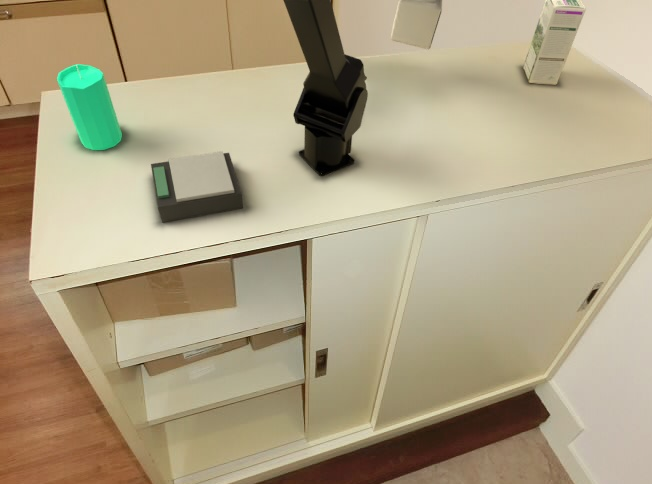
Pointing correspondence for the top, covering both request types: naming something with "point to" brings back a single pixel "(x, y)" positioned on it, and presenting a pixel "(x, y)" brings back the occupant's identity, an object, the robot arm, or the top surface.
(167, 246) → the top surface
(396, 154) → the top surface
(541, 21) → the syrup box
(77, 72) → the candle
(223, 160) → the scale
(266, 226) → the top surface
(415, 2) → the medicine bottle
